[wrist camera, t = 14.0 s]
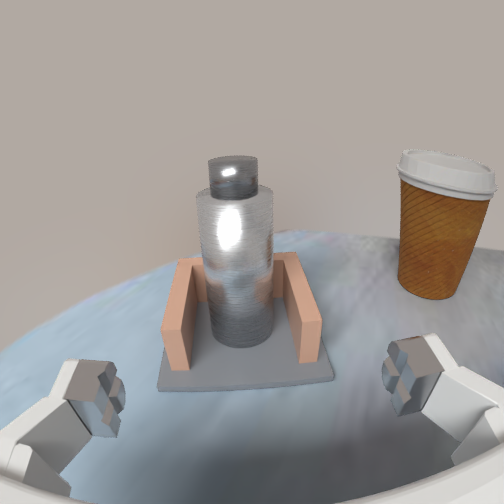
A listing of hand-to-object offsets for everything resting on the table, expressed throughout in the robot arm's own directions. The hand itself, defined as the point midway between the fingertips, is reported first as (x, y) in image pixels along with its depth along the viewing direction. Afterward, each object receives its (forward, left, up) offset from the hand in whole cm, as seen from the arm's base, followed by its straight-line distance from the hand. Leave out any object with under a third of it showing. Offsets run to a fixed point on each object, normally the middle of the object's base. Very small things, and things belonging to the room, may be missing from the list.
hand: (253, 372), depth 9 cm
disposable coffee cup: (-18, -17, -9) cm, 26 cm away
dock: (0, -12, -9) cm, 15 cm away
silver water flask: (0, -12, -9) cm, 15 cm away
